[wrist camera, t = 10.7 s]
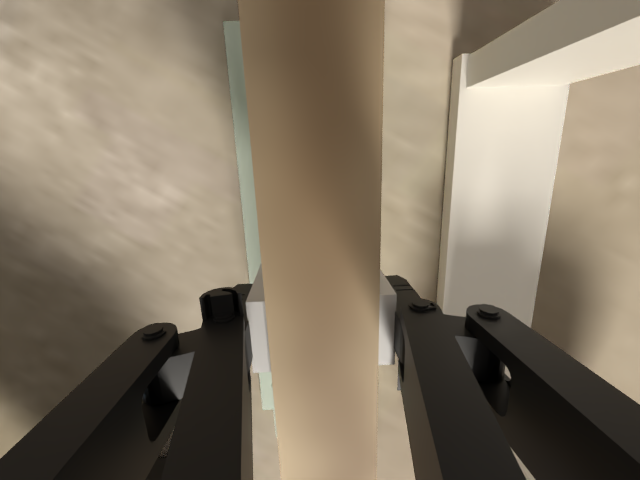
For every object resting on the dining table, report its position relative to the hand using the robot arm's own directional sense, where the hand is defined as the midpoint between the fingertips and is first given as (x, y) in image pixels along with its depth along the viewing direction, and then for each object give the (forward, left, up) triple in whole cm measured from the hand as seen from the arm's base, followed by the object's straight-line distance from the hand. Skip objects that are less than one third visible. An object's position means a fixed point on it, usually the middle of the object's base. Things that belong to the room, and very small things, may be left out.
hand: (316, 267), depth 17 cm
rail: (0, 0, +4) cm, 4 cm away
